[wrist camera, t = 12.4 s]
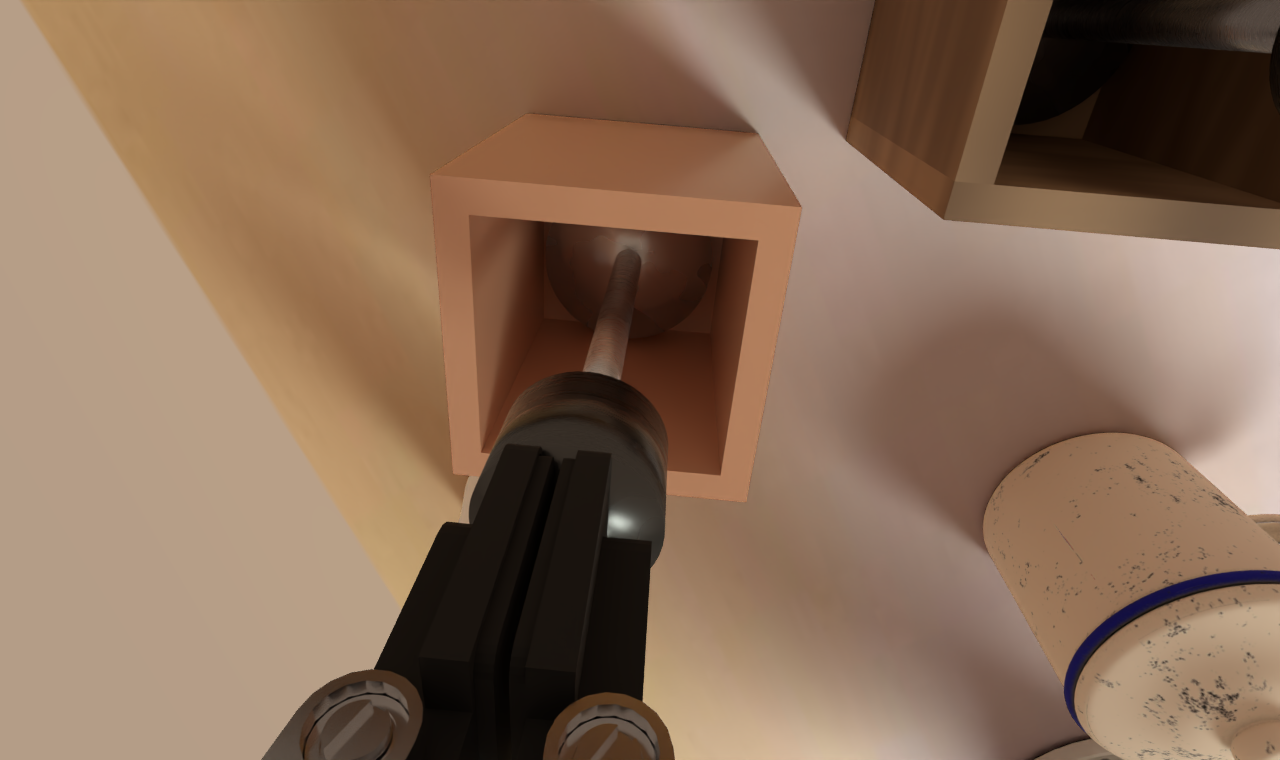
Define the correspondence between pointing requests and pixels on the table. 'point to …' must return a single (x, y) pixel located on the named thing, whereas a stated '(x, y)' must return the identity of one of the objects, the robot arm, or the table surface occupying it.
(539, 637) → the robot arm
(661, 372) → the square planter pot
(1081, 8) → the dark metallic plunger
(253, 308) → the table surface
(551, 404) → the black knobbed plunger
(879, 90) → the wooden handled box
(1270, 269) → the table surface
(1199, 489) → the teacup with lid
